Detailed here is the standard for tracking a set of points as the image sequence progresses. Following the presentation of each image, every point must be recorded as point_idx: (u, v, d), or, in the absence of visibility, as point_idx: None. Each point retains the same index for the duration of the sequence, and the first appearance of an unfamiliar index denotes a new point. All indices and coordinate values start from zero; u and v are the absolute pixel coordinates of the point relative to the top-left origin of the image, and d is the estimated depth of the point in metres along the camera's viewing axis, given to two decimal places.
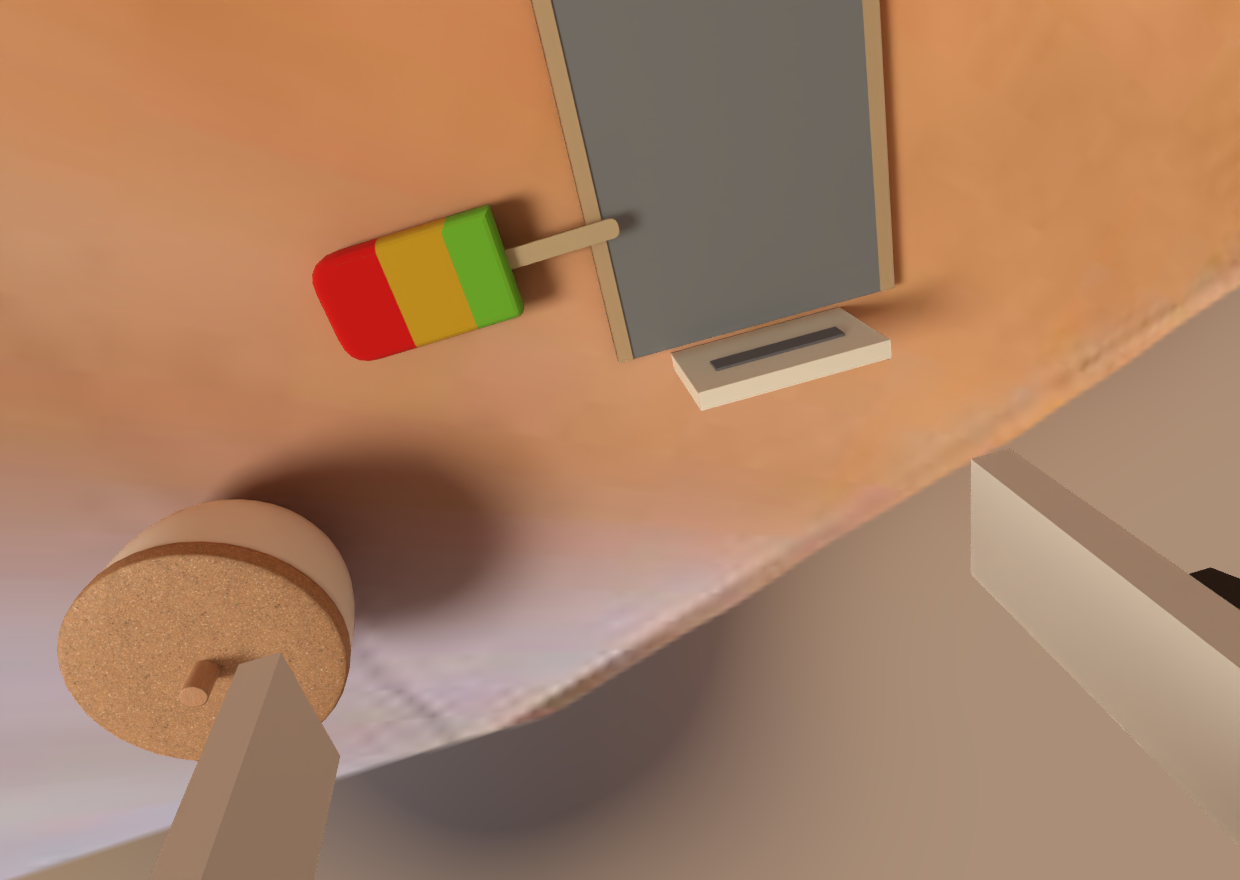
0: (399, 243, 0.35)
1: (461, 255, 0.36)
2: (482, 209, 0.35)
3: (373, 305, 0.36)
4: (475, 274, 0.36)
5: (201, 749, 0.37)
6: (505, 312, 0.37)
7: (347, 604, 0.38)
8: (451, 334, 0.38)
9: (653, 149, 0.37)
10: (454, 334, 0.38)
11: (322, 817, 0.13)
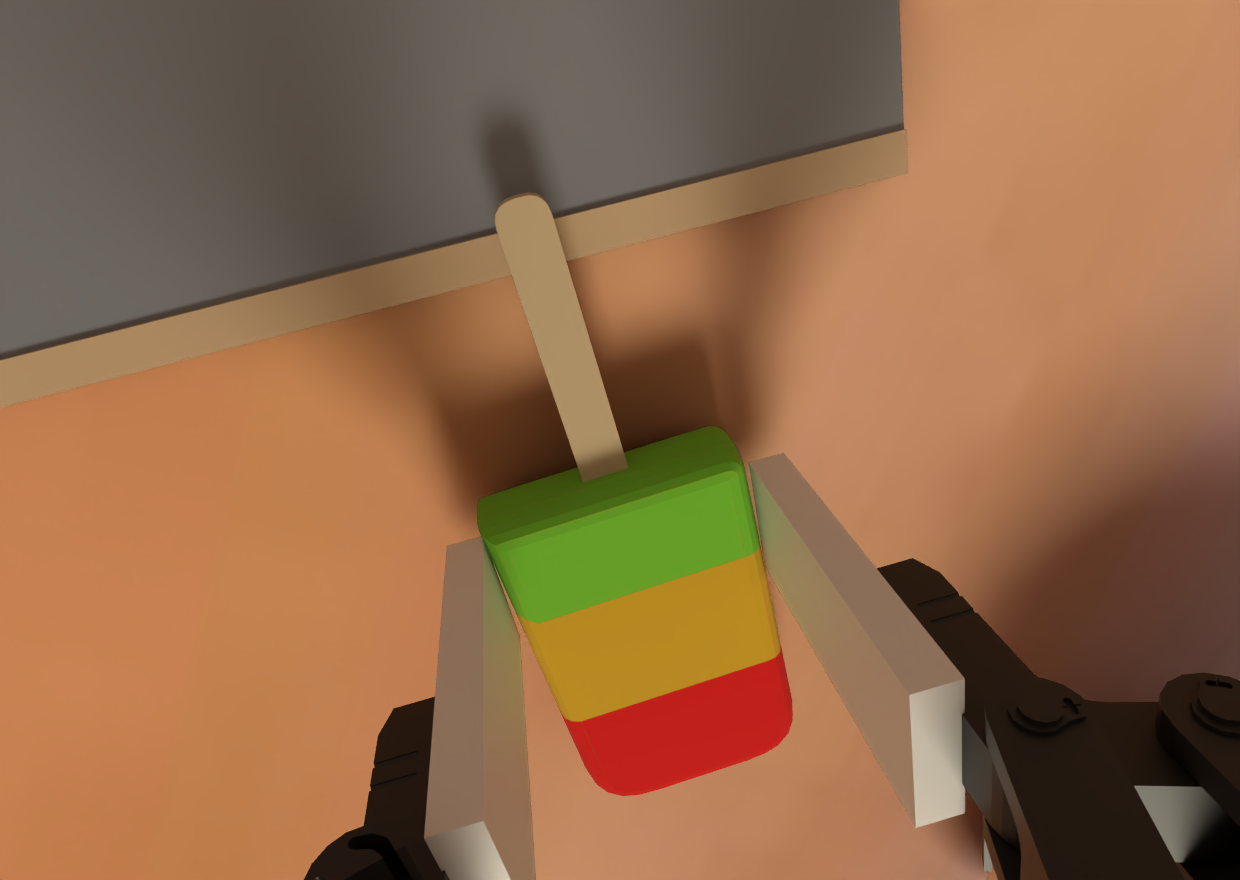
0: (561, 687, 0.17)
1: (588, 586, 0.15)
2: (483, 539, 0.15)
3: (684, 721, 0.18)
4: (633, 560, 0.15)
5: None
6: (729, 498, 0.15)
7: None
8: (764, 597, 0.17)
9: (293, 67, 0.12)
10: (765, 591, 0.17)
11: (520, 678, 0.15)
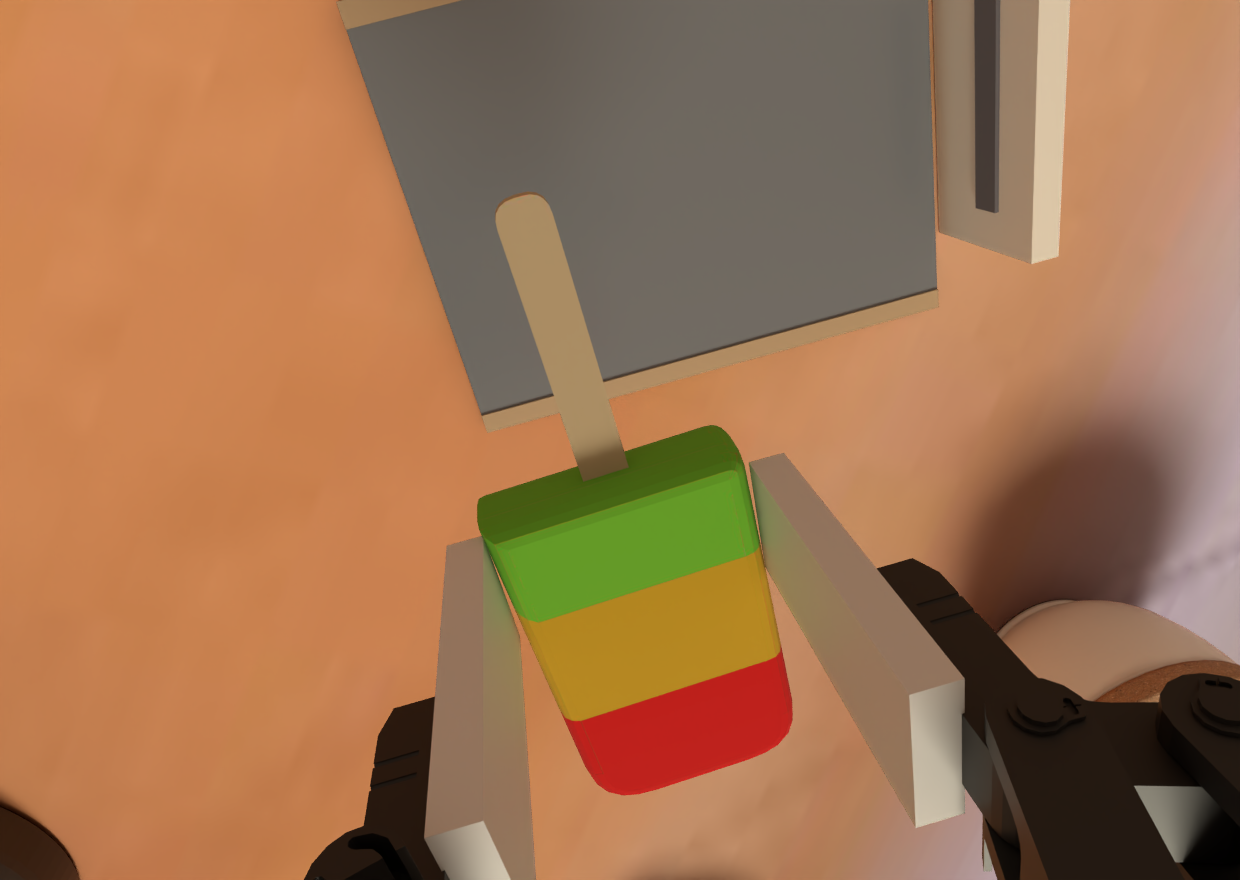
0: (561, 686, 0.17)
1: (588, 586, 0.15)
2: (483, 538, 0.15)
3: (685, 720, 0.18)
4: (633, 559, 0.15)
5: None
6: (729, 498, 0.15)
7: (1146, 643, 0.35)
8: (764, 597, 0.17)
9: (690, 277, 0.30)
10: (766, 591, 0.17)
11: (520, 678, 0.15)
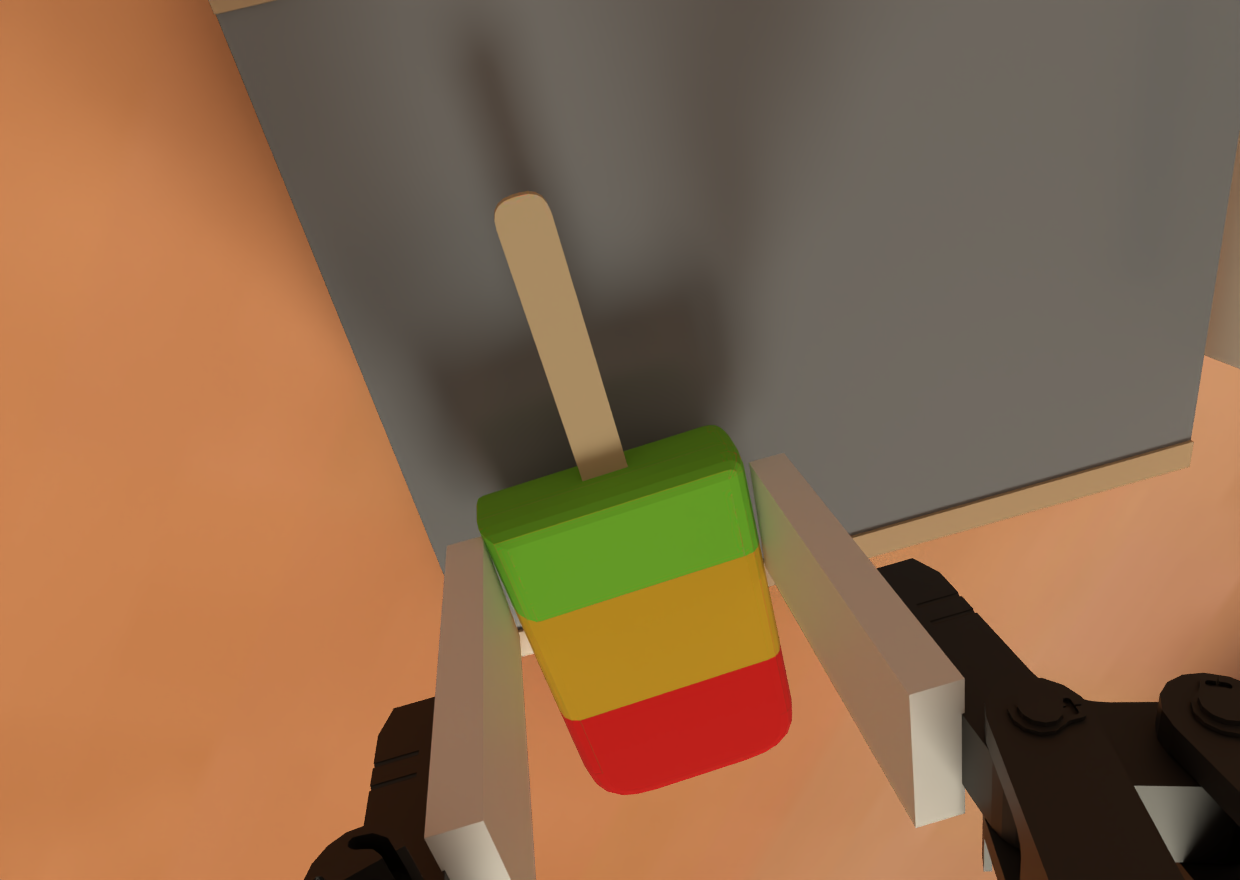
0: (560, 685, 0.17)
1: (587, 585, 0.15)
2: (483, 538, 0.15)
3: (684, 720, 0.18)
4: (632, 558, 0.15)
5: None
6: (728, 497, 0.15)
7: None
8: (763, 596, 0.17)
9: (818, 433, 0.18)
10: (765, 590, 0.17)
11: (520, 678, 0.15)
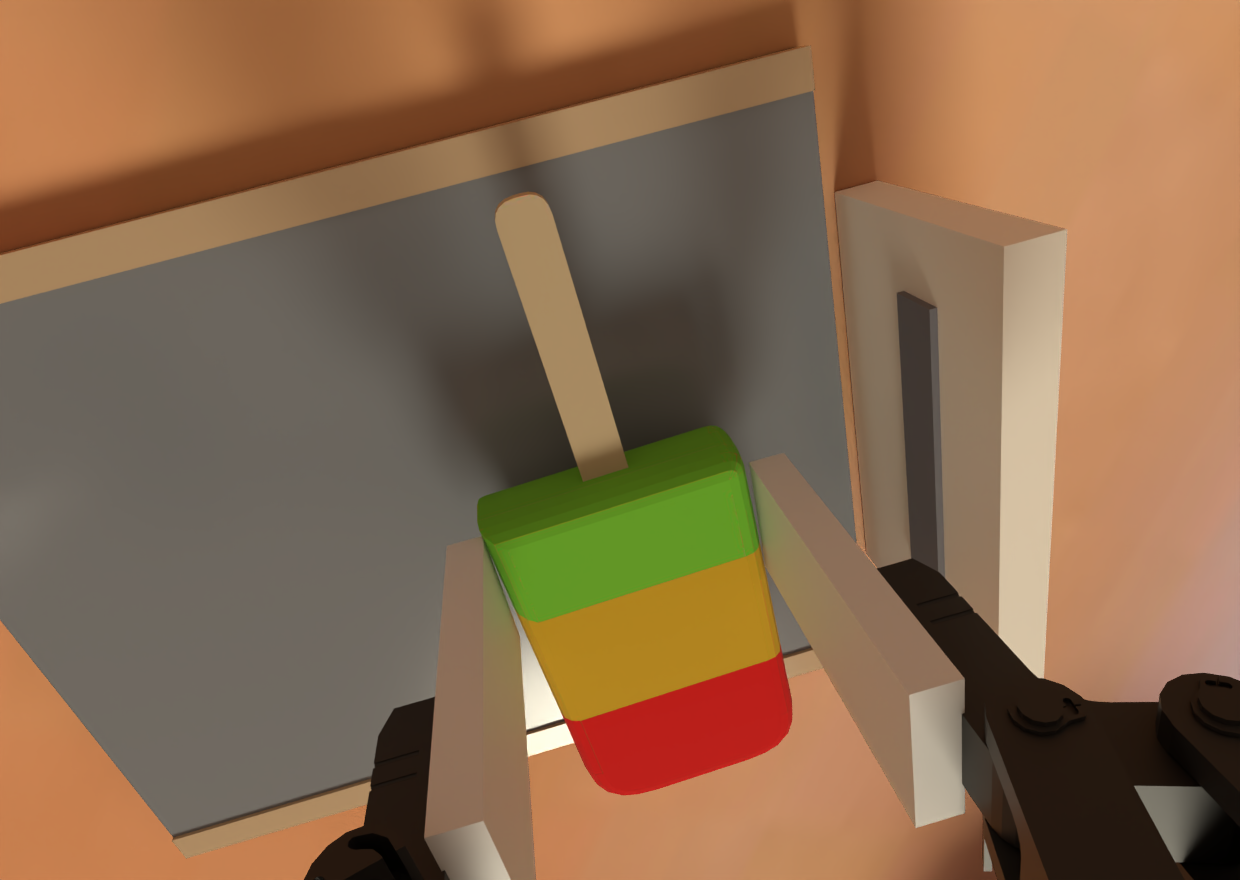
0: (560, 686, 0.17)
1: (587, 586, 0.15)
2: (483, 538, 0.15)
3: (684, 720, 0.18)
4: (632, 559, 0.15)
5: None
6: (729, 498, 0.15)
7: None
8: (764, 597, 0.17)
9: None
10: (765, 591, 0.17)
11: (520, 678, 0.15)
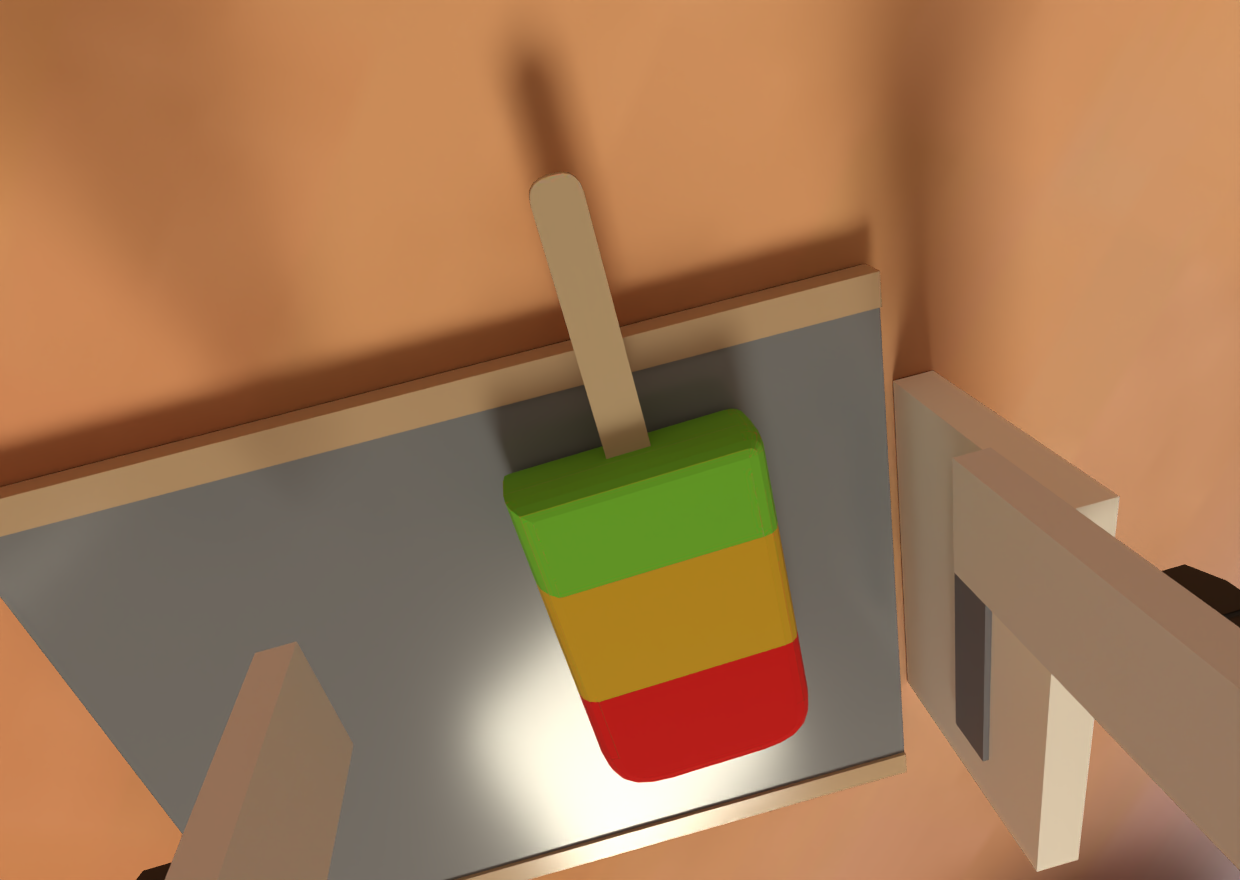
0: (580, 665, 0.17)
1: (609, 562, 0.16)
2: (509, 512, 0.15)
3: (701, 705, 0.18)
4: (653, 536, 0.16)
5: None
6: (749, 476, 0.15)
7: None
8: (781, 579, 0.17)
9: (549, 772, 0.21)
10: (783, 573, 0.17)
11: (337, 804, 0.13)
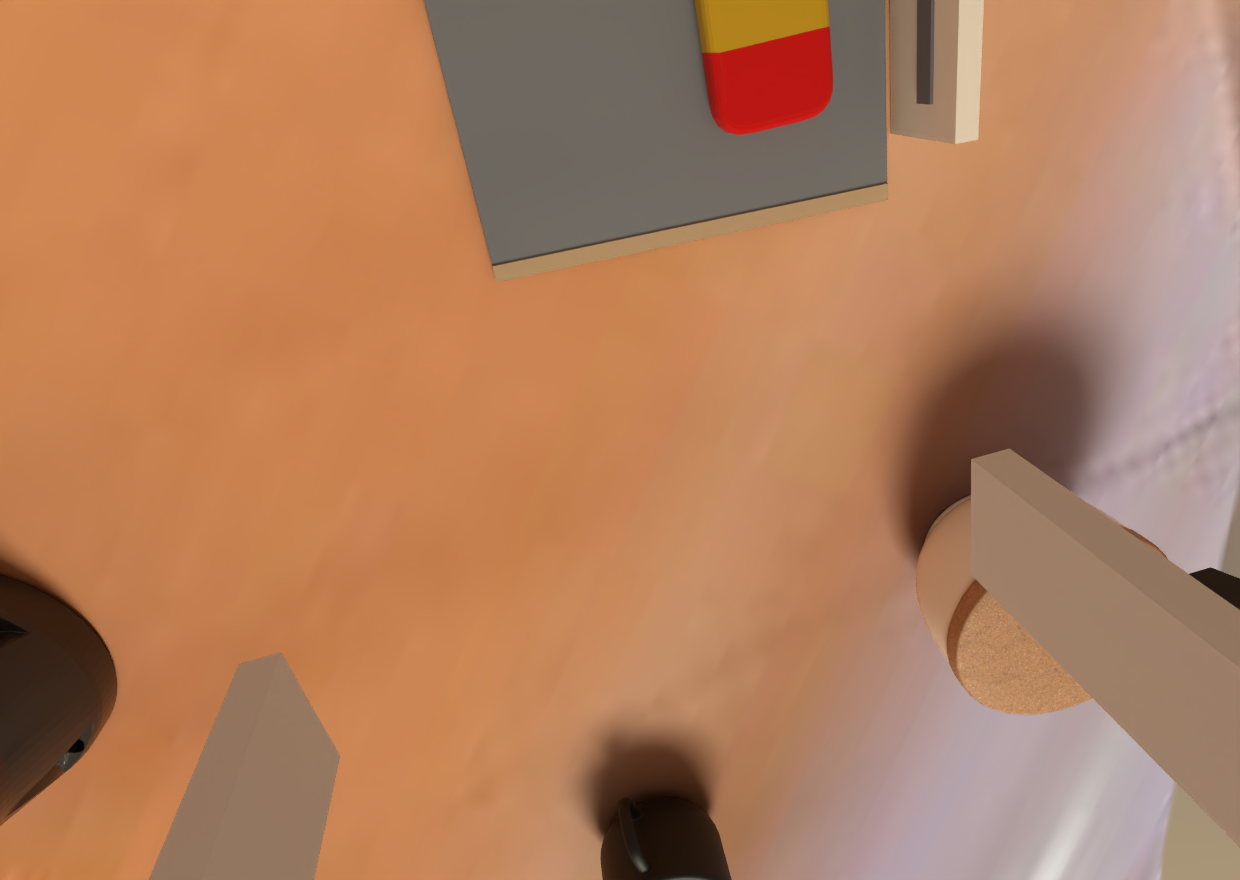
0: (712, 21, 0.31)
1: None
2: None
3: (774, 68, 0.33)
4: None
5: None
6: None
7: None
8: None
9: (676, 155, 0.35)
10: None
11: (322, 817, 0.13)
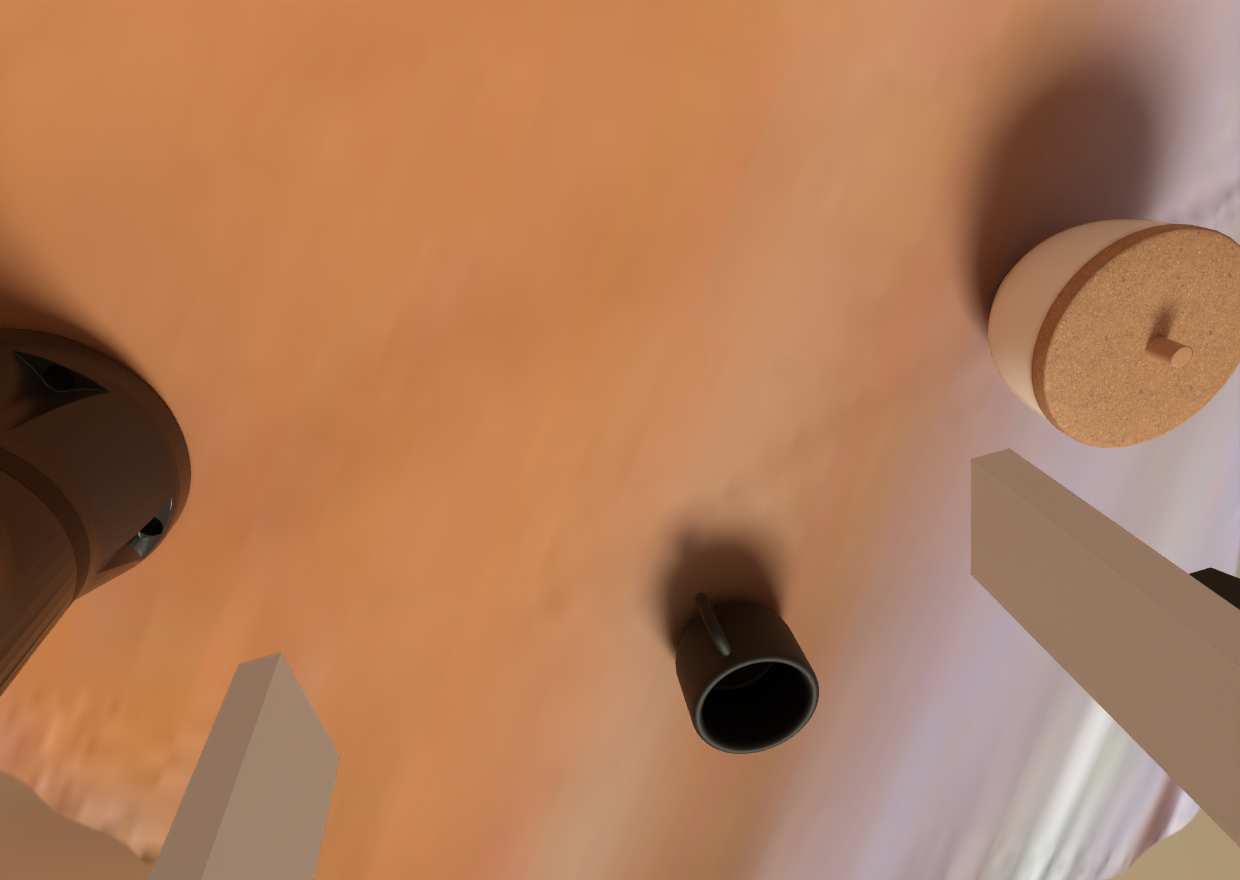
0: None
1: None
2: None
3: None
4: None
5: (1225, 365, 0.42)
6: None
7: (1135, 223, 0.40)
8: None
9: None
10: None
11: (322, 817, 0.13)
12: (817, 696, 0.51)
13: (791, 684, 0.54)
